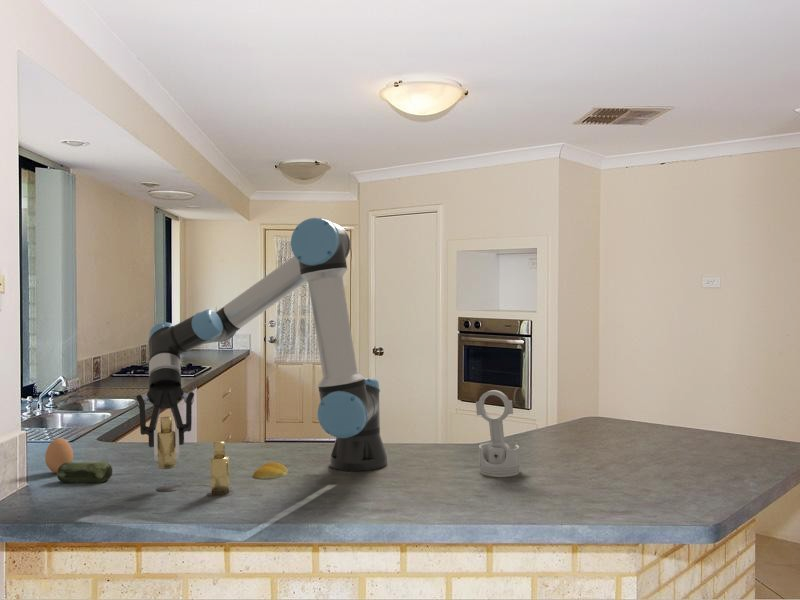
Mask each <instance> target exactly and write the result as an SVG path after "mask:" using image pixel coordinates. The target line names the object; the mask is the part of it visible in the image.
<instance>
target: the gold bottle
mask: <svg viewBox="0 0 800 600" xmlns="http://www.w3.org/2000/svg"><path fill="white" fill-rule="evenodd" d="M209 463H210V486H211V487H210V492H211V495H213V496H223V495H227V494H229V493H230V490H231V487H230V456H228V455H226V442H225V441H224V440H217V441H214V442H213V456H212V457H210V462H209ZM229 487H230V488H229Z"/></svg>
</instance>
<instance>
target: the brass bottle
mask: <svg viewBox="0 0 800 600" xmlns="http://www.w3.org/2000/svg"><path fill="white" fill-rule="evenodd" d="M172 421H173V420H172V416H161V417H160V431H159V432H158V431H157V440H158V461H157V469H159V470H169V469H174V468H176V467H177V459H176V448H175V430H172V429H173V428H172V425H173V424H172V423H173V422H172Z"/></svg>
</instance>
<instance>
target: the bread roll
mask: <svg viewBox="0 0 800 600" xmlns="http://www.w3.org/2000/svg"><path fill="white" fill-rule="evenodd" d="M288 474H289V470H288V468H287V467H286V466H285V465H283V464H282V463H279V462H271V461H270V462H267V463H264V464H263V465H262V466H260V467H259V468H258V469H256V470H255V471H254V472H253V474H252V477H253V478H254V479H255V478H256V479H260V480H261V479H262V480H269V479H270V480H271V479H277V478H282V477H284V476H286V475H288Z"/></svg>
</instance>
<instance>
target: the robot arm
mask: <svg viewBox="0 0 800 600" xmlns="http://www.w3.org/2000/svg"><path fill="white" fill-rule="evenodd" d="M290 248H291V251H292V254H293V256H292V257H291V258H290V259H287V260H286V261H284V263H282V264H281V265H280V266H278V267H277V268H276V269H274V270H272V271H271V272H270V273H268V274H267V275H266V276H264V277H263V278H261V279H260V280H258V281H257V282H256V283H254V284H253V285H252V286H250V287H249V288H247V289H246V290H244V291H243V292H242V293H241V294H239V295H237V296H236V297H235V298H234V299H232V300H231V301H229V302H228V303H227V304H225V305H224V306H223V307H221V308H220V309H218V310H217V311H214V310H213V309H205V310H202V311H201V312H200V311H199V312H196V313H195V314H194V315H192V316H191V317H188V318H186V319H184V320H183V321H180V322H179V323H177V324H174V323H172V322H166V321H165V322H163V323H162V322H159V323H156V324H155V325H153V327H151V329H150V330H149V338H148V342H147V343H148V353H149V354H148V355H149V360H148V391H147V392H146V394H144V395H141V394H137V395H136V397H135V398H136V399H135V400H136V401H135V402H136V405H137V407H138V408H139V409H138V410H139V426H140V427H139V429H140V434H141V435H143V436H144V435H147V436H148V447H149V448H153V461H154V462H158V440H157V433H158V430H157V429H156V428H157V425H158V421H159V417H160V414H161V411H162V410H164V409H168V410H169V409H170V410H171V413H172V416H173V419H174V420H173V421H174V422H175V427H176V428H175V430H174V431H175V448H176V460H180V446H183V445H184V443H185V433H186V432H188V433H189V432H191V431H192V425H193V424H192V417H193V416H192V413H193V412H192V406H193V403H194V401H195V393H194V392H192V391H190V392H189V393H187V392H184V390H183V388H182V376H181V375H182V370H181V369H182V368H181V367H182V366H181V355H183V354H185V353H187V352H189V351H191V350H193V349H195V348H198V347H199V346H201V345H204V344H205V345H207V344H212V343H217V342H219V343H220V342H221V343H222V342H227V341H228V340H230V339H232V338H233V337H234V336H235V335H236V333H237V332H238V331H239V330H240V329H241V328H243V327H244V326H246V325H247V324H249V323H251V321H253V320H254V319H256V318H258V317H259V316H260V315H261V314H263V313H264V312H265V311H267V310H268V309H270V308H271V307H273V306H274V305H276V304H277V303H278V302H280V301H281V300H283V299H284V298H286V297H287V296H288V295H290V294H291V293H293V292H294V291H295V290H297V289H298V288H300V287H301V286H302V285H305V283H308V288H309V296H310V301H311V302H310V303H311V309H312V315H313V321H314V329H315V334H316V340H317V348H318V355H319V359H320V366H321V373H322V379H321V380H320V381H319V383H318V385H317V386H318V393H319V400H320V401H319V405H318V408H317V419H318V423H319V425H320V426H321V428H322V430H323V431H324V432H326V433H327V434H328V435H330V436H332V437H334V438H335V441H334V444H333V447H332V450H331V454H330V461H329V463H330V466H331V468H333V469H335V470H341V471H349V472H356V471H357V472H359V471H370V470H376V469H380V468H383V467H385V466H387V465H388V454H387V451H386V448H385V444H384V442H383V440H382V437H381V427H380V426H381V423H380V421H381V420H380V419H381V417H380V413H381V412H380V411H381V410H380V392H381V391H380V390H381V389H380V385H379V381H378V379H376V378H365V376H364V375H362V374H360V373H359V371H358V366H357V362H356V355H355V348H354V342H353V335H352V329H351V323H350V316H349V311H348V304H347V298H346V292H345V286H344V279H343V278H344V275H345V273H346V272H347V270H348V264H347V257H348V255H349V253H350V251H351V239H350V236H349V234H348V232H347V231H346V229H344V228H343V227H342V226H341V225H339V224H338V223H335V222H332V221H331V220H329V219H327V218H323V217H311V218H307V219H305V220H303V221H301V222H299V224H298V225H297V226H296V227H295V228H294V230H293V232H292V234H291V238H290ZM182 399H183V402H184V403H185V405H186V406H185V423H183V420H182V416H181V413H180V409H179V407H178V404H179V403H180V401H182ZM147 401H149V402H150V403H151V404H152V405H153V409H152V413H151V416H150V417H151V418H150V421H149V424H148V425H149V426H147V422H146V405H147Z"/></svg>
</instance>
